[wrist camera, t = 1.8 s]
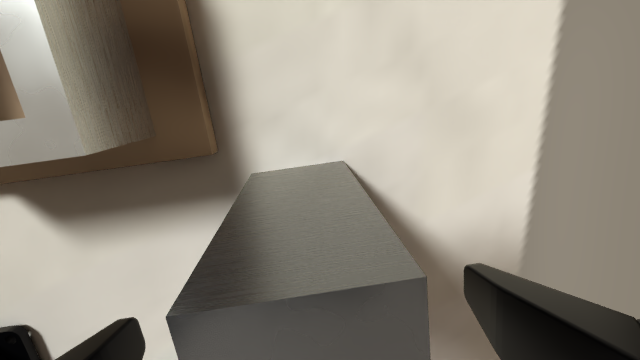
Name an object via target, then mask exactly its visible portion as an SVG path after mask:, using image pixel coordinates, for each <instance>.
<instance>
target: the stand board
mask: <svg viewBox="0 0 640 360" xmlns="http://www.w3.org/2000/svg"><path fill="white" fill-rule="evenodd" d="M120 3H121V7H122V10H123V14H124V18H125V22H126V25H127V29H128V33H129V36H130V40H131V44H132V48H133V51H134V55H135V59H136V63H137V66H138V70H139V74H140V78H141V81H142V85H143V89H144V93H145V96H146V100H147V104H148V107H149V111H150V115H151V119H152V122H153V126H154V130H155V134H156V136H154V137H150V138H147V139H143V140H140V141H136V142H132V143H129V144H125V145H121V146H118V147H114V148H111V149H107V150H103V151H100V152H96V153H93V154H89V155H85V156H78V157H70V158H63V159H56V160H48V161H41V162H34V163H27V164H19V165H12V166H5V167H0V184H5V183H12V182H20V181H27V180H34V179H41V178H48V177H56V176H63V175H70V174H77V173H84V172H91V171H99V170H106V169H113V168H120V167H127V166H135V165H142V164H149V163H156V162H163V161H171V160H178V159H185V158H192V157H199V156H207V155H213V154H214V153H216V152H217V151H218V149H217V144H216V139H215V135H214V130H213V126H212V121H211V116H210V112H209V107H208V103H207V98H206V94H205V89H204V84H203V80H202V75H201V71H200V66H199V61H198V57H197V52H196V48H195V43H194V39H193V34H192V29H191V25H190V20H189V16H188V11H187V7H186V2H185V0H120ZM20 118H26V117H25V115H24V112H23V109H22V107H21V104H20V101H19V99H18V96H17V93H16V90H15V88H14V85H13V82H12V80H11V77H10V74H9V72H8V69H7V66H6V64H5V61H4V58H3V56H2V53H1V50H0V121H5V120H13V119H20Z"/></svg>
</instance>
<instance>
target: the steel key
mask: <svg viewBox="0 0 640 360" xmlns="http://www.w3.org/2000/svg"><path fill="white" fill-rule="evenodd" d="M166 320H167V323H168V327H169V330H170V333H171V336H172V340H173V343H174V346H175V350H176V353H177V356H178V359H179V360H430V344H429V321H428V299H427V277H426V275H425V274H424V272H423V271H422V270H421V268H420V267H419V265H418V264H417V263H416V261H415V260H414V258H413V257H412V256H411V254H410V253H409V252H408V250H407V249H406V247H405V246H404V245H403V243H402V242H401V240H400V239H399V238H398V236H397V235H396V233H395V232H394V231H393V229H392V228H391V226H390V225H389V224H388V222H387V221H386V219H385V218H384V217H383V215H382V214H381V212H380V211H379V210H378V208H377V207H376V206H375V204H374V203H373V201H372V200H371V199H370V197H369V196H368V194H367V193H366V192H365V190H364V189H363V187H362V186H361V185H360V183H359V182H358V180H357V179H356V178H355V176H354V175H353V173H352V172H351V171H350V169H349V168H348V166H347V165H346V164H345V162H344V161H339V162H332V163H325V164H318V165H310V166H303V167H296V168H289V169H282V170H275V171H268V172H261V173H254V174H251V176H250V177H249V179H248V181H247V182H246V184H245V186H244V187H243V189H242V191H241V192H240V194H239V196H238V197H237V199H236V201H235V202H234V204H233V206H232V207H231V209H230V211H229V212H228V214H227V216H226V217H225V219H224V221H223V222H222V224H221V226H220V227H219V229H218V231H217V232H216V234H215V236H214V237H213V239H212V241H211V242H210V244H209V246H208V247H207V249H206V251H205V252H204V254H203V256H202V257H201V259H200V261H199V262H198V264H197V266H196V267H195V269H194V271H193V272H192V274H191V276H190V277H189V279H188V281H187V282H186V284H185V286H184V287H183V289H182V291H181V292H180V294H179V296H178V297H177V299H176V301H175V302H174V304H173V306H172V307H171V309H170V311H169V312H168V314H167V316H166Z"/></svg>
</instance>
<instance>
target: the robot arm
mask: <svg viewBox="0 0 640 360" xmlns="http://www.w3.org/2000/svg"><path fill="white" fill-rule="evenodd" d="M464 295H465V298H466V300H467V302H468V304H469V306H470V307H471V309H472V311H473V313H474V315H475V316H476V318H477V320H478V322H479V323H480V325H481V327H482V329H483V331H484V332H485V334H486V336H487V338H488V340H489V341H490V343H491V345H492V346H493V348H494V350H495V351H496V353H497V354H498V356H499V357H500V359H501V360H640V319H637V320H636V319H635V318H634V317H632V316H629V315H626V314H623V313H620V312H617V311H614V310H611V309H609V308H606V307H603V306H600V305H598V304H594V303H592V302H589V301H586V300H583V299H581V298H578V297H575V296H572V295H569V294H566V293H563V292H561V291H558V290H555V289H552V288H549V287H546V286H544V285H541V284H538V283H535V282H532V281H529V280H527V279H524V278H521V277H518V276H515V275H512V274H510V273H507V272H504V271H501V270H498V269H495V268H493V267H490V266H487V265H484V264H481V263H476V264H470V265H466V266H465V267H464ZM144 352H145V340H144V337H143V334H142V331H141V328H140V325H139V322H138V320H137V319H136V318H134V317H131V318H124V319H119V320H117V321H115V322H114V323H112V324H110V325H109V326H107V327H106V328H104V329H103V330H101V331H99V332H98V333H96V334H95V335H93V336H92V337H90V338H88V339H87V340H85V341H84V342H82V343H81V344H79V345H77V346H76V347H74V348H73V349H71V350H70V351H68V352H66V353H65V354H63V355H62V356H60V357H59V358H57V359H55V360H142V358H143V356H144ZM0 360H40V359H39V356H38V354H37V352H36V350H35V347H34V345H33V343H32V341H31V339H30V336H29V334H28V332H27V331H26V329H24V328H23V327H20V326H8V327H2V328H0Z"/></svg>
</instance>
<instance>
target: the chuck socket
mask: <svg viewBox="0 0 640 360" xmlns="http://www.w3.org/2000/svg"><path fill="white" fill-rule="evenodd" d="M0 50H1V53H2V56H3V58H4V61H5V64H6V66H7V69H8V72H9V74H10V77H11V80H12V82H13V85H14V88H15V90H16V93H17V96H18V99H19V101H20V104H21V107H22V109H23V112H24V115H25V117H26V118H20V119H13V120H5V121H0V167H5V166H12V165H19V164H27V163H34V162H41V161H48V160H56V159H63V158H70V157H78V156H85V155H89V154H93V153H96V152H100V151H103V150H107V149H111V148H114V147H118V146H121V145H125V144H129V143H132V142H136V141H140V140H143V139H147V138H150V137H154V136H156V134H155V130H154V126H153V122H152V119H151V115H150V111H149V107H148V104H147V100H146V96H145V93H144V89H143V85H142V81H141V78H140V74H139V70H138V66H137V63H136V59H135V55H134V51H133V48H132V44H131V40H130V36H129V33H128V29H127V25H126V22H125V18H124V14H123V10H122V7H121V3H120V0H0Z"/></svg>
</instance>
